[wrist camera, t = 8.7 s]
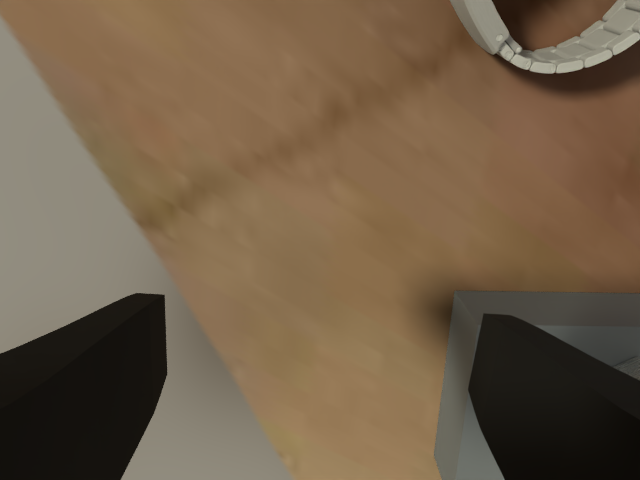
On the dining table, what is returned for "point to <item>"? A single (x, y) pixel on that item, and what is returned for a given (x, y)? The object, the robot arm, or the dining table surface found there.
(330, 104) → the dining table surface
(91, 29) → the dining table surface
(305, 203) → the dining table surface
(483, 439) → the watch box
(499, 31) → the watch
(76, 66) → the dining table surface
